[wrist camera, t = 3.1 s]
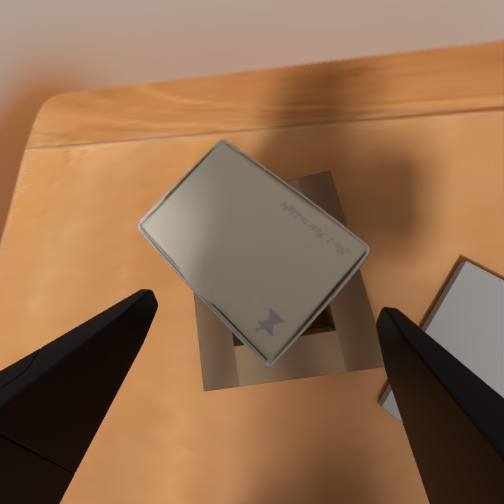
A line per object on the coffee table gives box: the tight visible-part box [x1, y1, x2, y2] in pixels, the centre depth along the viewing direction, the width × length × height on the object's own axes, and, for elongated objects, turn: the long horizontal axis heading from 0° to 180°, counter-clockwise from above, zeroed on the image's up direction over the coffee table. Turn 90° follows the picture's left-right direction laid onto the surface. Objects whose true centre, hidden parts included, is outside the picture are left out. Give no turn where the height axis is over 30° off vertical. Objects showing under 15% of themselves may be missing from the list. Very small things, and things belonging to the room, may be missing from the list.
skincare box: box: [138, 140, 370, 368], centre depth 12 cm, size 6×4×12 cm
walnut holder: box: [194, 171, 385, 391], centre depth 17 cm, size 12×14×2 cm
